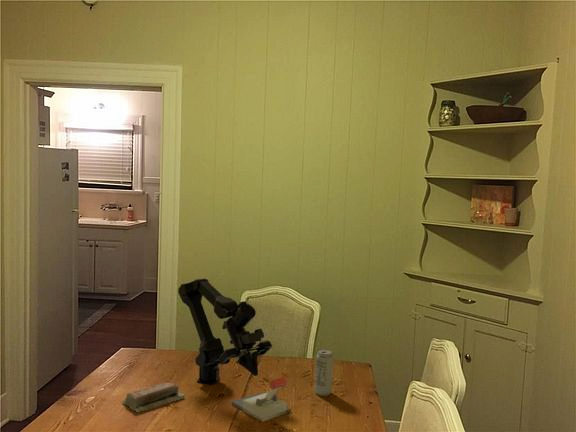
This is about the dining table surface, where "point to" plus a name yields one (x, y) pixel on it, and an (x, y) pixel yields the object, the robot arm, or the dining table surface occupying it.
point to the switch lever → (274, 388)
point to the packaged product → (153, 396)
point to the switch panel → (262, 406)
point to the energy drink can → (324, 372)
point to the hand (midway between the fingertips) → (256, 375)
